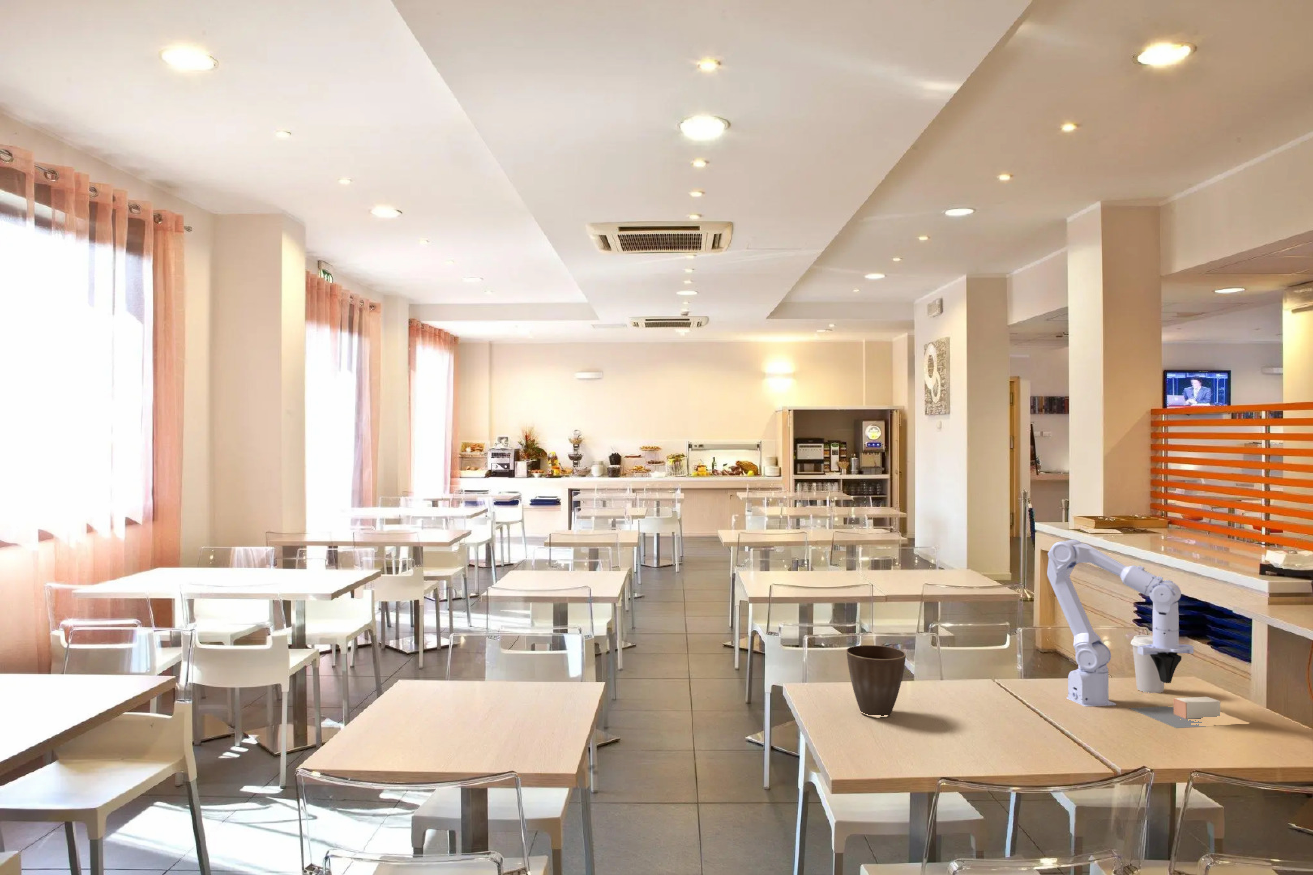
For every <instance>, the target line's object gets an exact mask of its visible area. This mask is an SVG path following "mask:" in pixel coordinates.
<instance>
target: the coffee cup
mask: <svg viewBox="0 0 1313 875" xmlns="http://www.w3.org/2000/svg"><path fill="white" fill-rule="evenodd" d="M1149 644H1153V635H1147V634H1146V635H1145V634H1138V635H1134V636H1133V638H1132V639H1131V641H1130V645H1132V653H1133V663H1134V671H1135V673H1134V674H1135V681H1136V690H1137V689H1138V690H1140V691H1139V692H1141V691H1143V692H1142V693H1144V692H1147V693H1146V694H1160V693H1161V692H1162V693H1164V692H1163V691H1164V690H1165V683H1164V682H1162V681H1160V677H1159V673H1158V670H1157V667H1156V665H1155V663H1154V661H1153V659H1152V658H1151V656H1150V654H1147V655H1141V654H1138V646H1144V645H1149ZM1138 690H1137V691H1138ZM1148 692H1149V693H1148ZM1162 693H1161V694H1162Z"/></svg>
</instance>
